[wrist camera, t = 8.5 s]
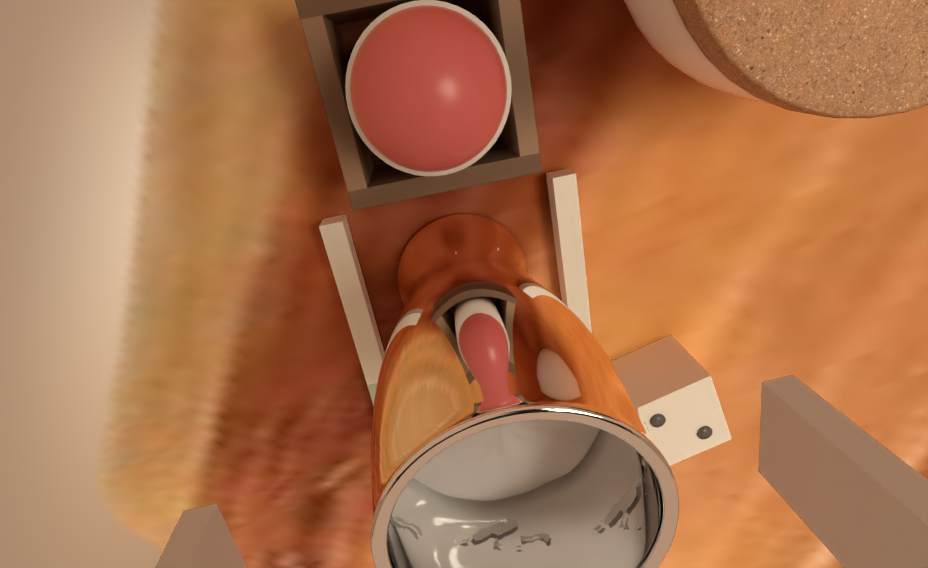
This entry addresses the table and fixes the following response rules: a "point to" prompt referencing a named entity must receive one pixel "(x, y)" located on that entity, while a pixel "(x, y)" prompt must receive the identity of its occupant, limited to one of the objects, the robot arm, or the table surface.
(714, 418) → the die
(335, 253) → the track
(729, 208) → the table surface
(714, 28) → the lidded bowl
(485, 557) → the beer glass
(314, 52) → the button housing
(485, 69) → the dome button
